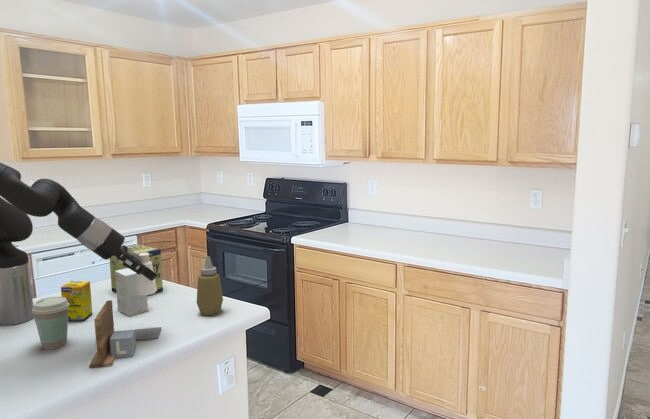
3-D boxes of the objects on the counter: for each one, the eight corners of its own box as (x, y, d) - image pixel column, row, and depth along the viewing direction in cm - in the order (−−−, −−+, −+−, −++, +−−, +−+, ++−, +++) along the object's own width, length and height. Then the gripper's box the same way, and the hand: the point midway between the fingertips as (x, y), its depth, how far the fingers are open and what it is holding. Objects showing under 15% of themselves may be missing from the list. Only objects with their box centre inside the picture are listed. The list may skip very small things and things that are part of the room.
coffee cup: (48, 337, 129) (44, 295, 127) (79, 337, 129) (75, 295, 127) (28, 351, 120) (23, 307, 118) (60, 352, 120) (56, 307, 118)
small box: (148, 311, 148) (145, 271, 146) (128, 316, 143) (125, 275, 141) (136, 304, 153) (134, 266, 151) (117, 310, 149) (114, 270, 147)
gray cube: (111, 358, 116) (109, 339, 116) (115, 349, 121) (114, 331, 121) (132, 356, 117) (131, 337, 117) (136, 347, 122) (134, 329, 122)
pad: (130, 341, 126) (130, 339, 126) (135, 331, 133) (135, 329, 133) (158, 339, 127) (158, 337, 127) (161, 329, 134) (161, 327, 134)
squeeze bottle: (204, 319, 141) (202, 261, 138) (192, 312, 147) (189, 256, 144) (228, 312, 146) (226, 256, 143) (215, 305, 152) (213, 252, 149)
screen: (89, 367, 112) (85, 320, 110) (102, 344, 124) (99, 301, 122) (112, 365, 113) (108, 318, 111) (122, 342, 125) (119, 299, 124)
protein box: (138, 300, 158) (135, 255, 155) (110, 291, 166) (107, 249, 164) (164, 291, 166) (161, 249, 164) (136, 284, 175) (134, 243, 172)
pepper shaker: (131, 294, 127) (128, 255, 125) (145, 287, 132) (142, 250, 130) (147, 296, 125) (144, 257, 123) (161, 290, 130) (158, 251, 128)
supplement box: (63, 322, 139) (60, 286, 137) (73, 314, 145) (70, 280, 143) (83, 322, 139) (80, 286, 138) (93, 314, 145) (90, 280, 143)
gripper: (88, 243, 126) (140, 278, 134) (91, 256, 114) (147, 294, 122) (108, 221, 128) (158, 258, 136) (113, 232, 115) (167, 272, 124)
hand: (152, 275), depth 129 cm, fingers closed on pepper shaker, 4 cm apart
